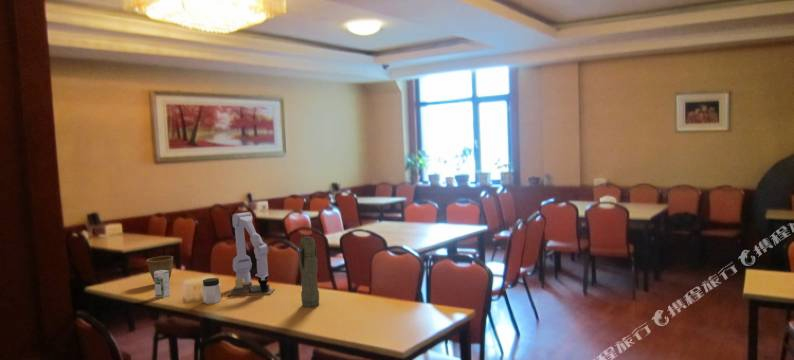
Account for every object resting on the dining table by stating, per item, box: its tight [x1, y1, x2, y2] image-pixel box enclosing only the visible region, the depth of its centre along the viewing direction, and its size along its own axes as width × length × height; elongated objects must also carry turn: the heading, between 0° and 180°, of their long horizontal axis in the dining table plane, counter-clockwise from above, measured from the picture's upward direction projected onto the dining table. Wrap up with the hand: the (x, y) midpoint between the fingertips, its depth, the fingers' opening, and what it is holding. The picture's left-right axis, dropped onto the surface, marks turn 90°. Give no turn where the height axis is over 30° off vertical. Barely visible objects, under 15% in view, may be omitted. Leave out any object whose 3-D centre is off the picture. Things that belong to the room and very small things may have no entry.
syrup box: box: [153, 270, 171, 299], centre depth 327 cm, size 6×6×14 cm
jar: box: [202, 277, 222, 305], centre depth 311 cm, size 9×8×12 cm
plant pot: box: [146, 255, 174, 284], centre depth 356 cm, size 15×15×16 cm
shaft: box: [233, 283, 271, 292], centre depth 326 cm, size 3×19×3 cm, turn 89°
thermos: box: [297, 236, 320, 308], centre depth 296 cm, size 9×12×35 cm
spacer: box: [234, 277, 245, 287], centre depth 326 cm, size 4×4×4 cm
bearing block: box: [226, 281, 276, 297], centre depth 326 cm, size 10×24×6 cm, turn 89°
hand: (263, 290), depth 326 cm, fingers open, 7 cm apart
